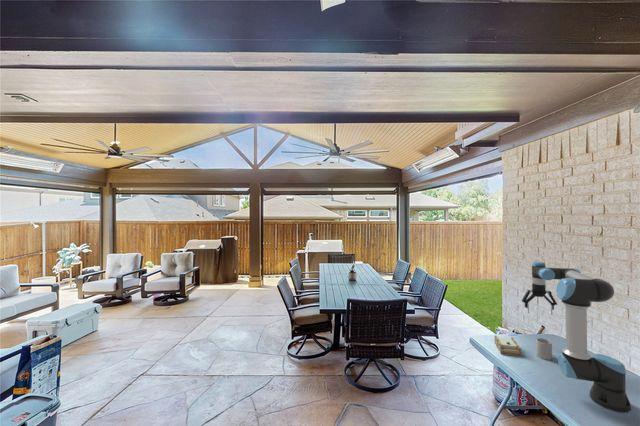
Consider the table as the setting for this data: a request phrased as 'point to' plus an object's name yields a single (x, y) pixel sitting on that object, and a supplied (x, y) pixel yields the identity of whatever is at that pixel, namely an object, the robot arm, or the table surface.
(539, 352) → the mug
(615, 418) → the table surface
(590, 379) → the robot arm
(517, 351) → the wooden slatted rack
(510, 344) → the lid
